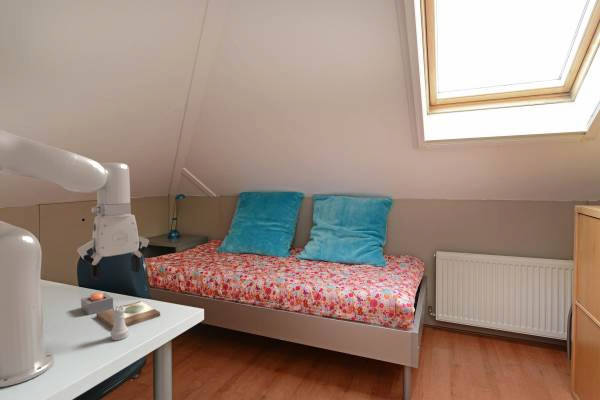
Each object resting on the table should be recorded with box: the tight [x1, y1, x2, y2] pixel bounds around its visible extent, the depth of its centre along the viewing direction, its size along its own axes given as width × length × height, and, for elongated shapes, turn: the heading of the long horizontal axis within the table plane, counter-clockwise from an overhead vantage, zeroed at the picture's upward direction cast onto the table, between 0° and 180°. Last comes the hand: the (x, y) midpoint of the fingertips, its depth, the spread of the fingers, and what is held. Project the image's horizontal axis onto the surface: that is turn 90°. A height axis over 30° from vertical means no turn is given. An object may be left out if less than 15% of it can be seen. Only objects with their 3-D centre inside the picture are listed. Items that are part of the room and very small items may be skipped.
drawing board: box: [95, 300, 161, 329], centre depth 104 cm, size 13×14×1 cm
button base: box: [80, 292, 114, 316], centre depth 110 cm, size 7×7×3 cm
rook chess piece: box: [109, 305, 130, 341], centre depth 90 cm, size 4×4×8 cm
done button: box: [89, 292, 104, 302], centre depth 110 cm, size 4×4×2 cm
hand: (116, 275), depth 90 cm, fingers open, 9 cm apart
